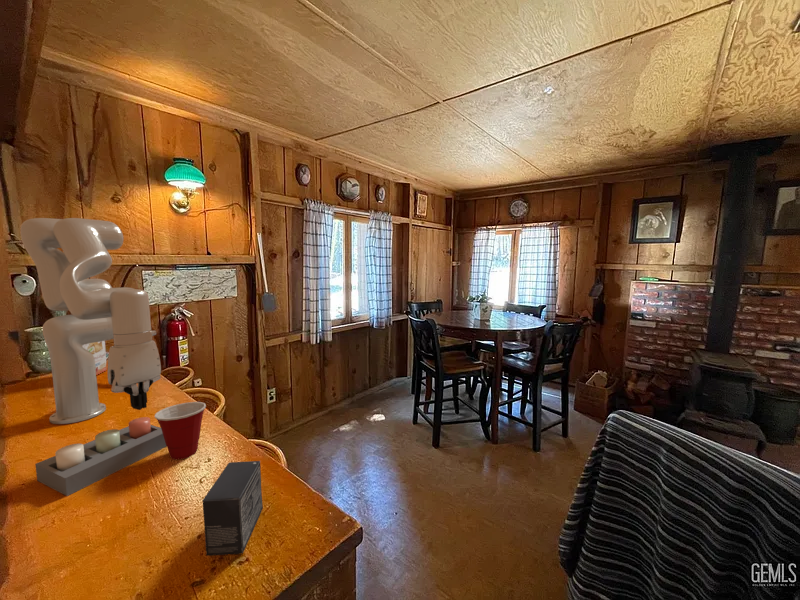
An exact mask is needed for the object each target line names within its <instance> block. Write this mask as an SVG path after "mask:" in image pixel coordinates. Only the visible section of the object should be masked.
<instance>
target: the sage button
mask: <svg viewBox="0 0 800 600" xmlns="http://www.w3.org/2000/svg"><path fill="white" fill-rule="evenodd" d="M119 430H120V429H116V428H114V429H108V430H107V429H106V430H103V431H101V432H99V433H97V434H96V435H95V437H94V438H95V439H94V440H95V442H96V452H97V453H100V454H103V453H106V452H108V451H110V450H112V449H115V448H117V447H119V446H121V444H120V433H119Z"/></svg>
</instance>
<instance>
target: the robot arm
mask: <svg viewBox="0 0 800 600" xmlns="http://www.w3.org/2000/svg"><path fill="white" fill-rule="evenodd" d="M20 239H21V241H22V242H21V243H22V245H23V247H24V249H25V250H26V253H27V254H28V255H29V257H30V258H31V260H32V262H33V264H34V265H35V267H36V271H37V277H38V280H39V284H40V290H41V294H42V298H43V302H44V305H45V306H46V308H47V309H49V310H51V311H57V312H63V311H64V312H65V311H69V313H70V314H65V315H58V316H55V317H51V318H49V319H47V320H45V322H44V323H43V325H42V335H43V338H44V340H45V344H46V347H47V350H48V354H49V359H50V368H51V377H52V383H53V391H54V393H53V394H54V403H55V412H54V413H53V414H51V415H50V416H49V423H51V424H53V425H67V424H68V425H69V424H73V423H78V422H83V421H86V420H90V419H92V418H95V417H98V416H99V415H101V414H102V413H103V412H105V411H106V410H107V406H106V404H105V403H102V402H100V401H99V400H100V399H99V389H98V379H97V376H96V367H95V359H94V356H93V355H92V354H91V353H90V352H89V351H87V350H86V349H84V348H83V347H82V345H84V344H89V343H94V342H100V341H105V342H106V341H110V340H113V345H111V346H110V347H109V350H108V356H107V357H108V358H107V382H108V384H109V385H111V390H110V391H111V393H113V394H116V393H117V394H118V393H125V394H127V395H129V400H130V407H131V409H133V410H137V411H140V410H142V409H147V403H148V395H147V393H148V392H149V390H150V387H151V386H152V385H153V383H156V382H157V381H159V380H161V378H162V377H161V373H162V365H161V364H162V363H161V358H160V354H159V349H158V347H157V344H156V342H155V340H153V339H154V338H153V337H154V336H157V331H156V330H155V329H154V330H152V325H151V324H152V322H151V312H150V311H151V310H150V301H149V299H150V297H149V294H148V292H147V291H146V290H144V289H140V288H139V289H136V288H133V287H125V286H123V287H113V286H112V285H111V284H110V282H108V281H107V280H106V279H103V278H92V277H95V276H98V275H100V274H102V273H104V272H106V271H107V270H109V268H110V267H111V266H112V264H113V259H112V256H111V255H110V252H109V251H115V250H118V249H120V248H121V247H122V246H123V244H124V234H123V231H122V230H121V228H120V227H119V226H118V225H117V224H116V223H115V222H112V221H109V220H102V219H93V218H92V219H89V218H82V217H81V218H80V217H79V218H78V217H69V218H68V217H67V218H49V217H48V218H47V217H34V218H28V219H26V220H24V221H23V222H22V223H21V225H20Z"/></svg>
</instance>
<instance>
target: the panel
mask: <svg viewBox="0 0 800 600" xmlns="http://www.w3.org/2000/svg"><path fill="white" fill-rule="evenodd" d="M150 425H151V433H149V434H146V435H144V436H142V437H139V438H137V439H133V438H130V434H129V425H128V426H126V427H123V428H121V429H118V430H119V433H120V444H121V446H119V447H117V448H115V449H112V450H110V451H108V452H106V453H103V454H100V453H97V452H96V442H95V439H94V440H91V441H88V442H85V443H84V444H83V443H82V444H83V446H84V456H85V462H83V463H81V464H78V465H76V466H74V467H72V468H69V469H67V470H65V471H63V472H61V471H59V470H57V463H56V455H53V456H52V457H48V458H47V459H44V460H41V461H39V462H37V463H35V473H36V480H37V482H39V483H41V484H43V485H45V486H47V487H49V488H51V489H53V490H54V491H56V492H58V493H59V494H61V495H64V496H66V497H69V496H71V495H72V494H74V493H77V492H78V491H81V490H82V489H84V488H86V487H89V486H90V485H92V484H94V483H97V482H98V481H101V480H102V479H104V478H107V477H108V476H110V475H112V474H114V473H116V472H118V471H120V470H122V469H124V468H126V467H129V466H130V465H132V464H134V463H137V462H139V461H140V460H142V459H145V458H146V457H149V456H151V455H153V454H154V453H157V452H159V451H160V450H162V449H165V448H167V446H166V443H165V439H164V436H163V433H162V429H161V427H160V426H159V427H158V426H156V425H153V424H150Z"/></svg>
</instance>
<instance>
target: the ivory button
mask: <svg viewBox="0 0 800 600" xmlns="http://www.w3.org/2000/svg"><path fill="white" fill-rule="evenodd" d="M54 454H55V456H56V463H57V470H59V471H61V472H63V471H65V470H67V469H69V468H72V467H74V466H76V465H78V464H81V463H83V462H85V456H84V446H83V443H72V444H69V445H66V446H63V447H61V448H59V449H57V450H56V451H55V453H54Z"/></svg>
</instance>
